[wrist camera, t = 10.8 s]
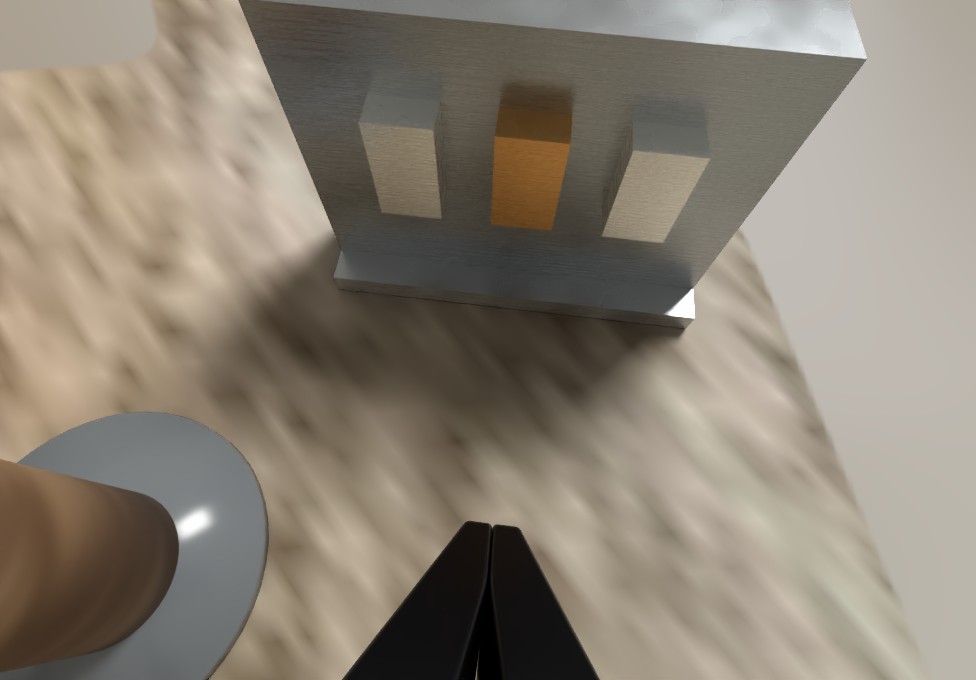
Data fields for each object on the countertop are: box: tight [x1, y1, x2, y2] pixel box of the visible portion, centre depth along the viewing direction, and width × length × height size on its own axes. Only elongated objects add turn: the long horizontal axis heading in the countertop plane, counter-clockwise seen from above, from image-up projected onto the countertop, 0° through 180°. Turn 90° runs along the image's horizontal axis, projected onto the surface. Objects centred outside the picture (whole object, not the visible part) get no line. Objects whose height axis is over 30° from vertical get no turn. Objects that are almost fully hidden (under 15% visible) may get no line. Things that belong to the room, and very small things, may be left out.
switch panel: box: [238, 0, 867, 328], centre depth 19 cm, size 6×16×12 cm, turn 83°
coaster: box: [0, 412, 269, 680], centre depth 18 cm, size 11×11×1 cm
